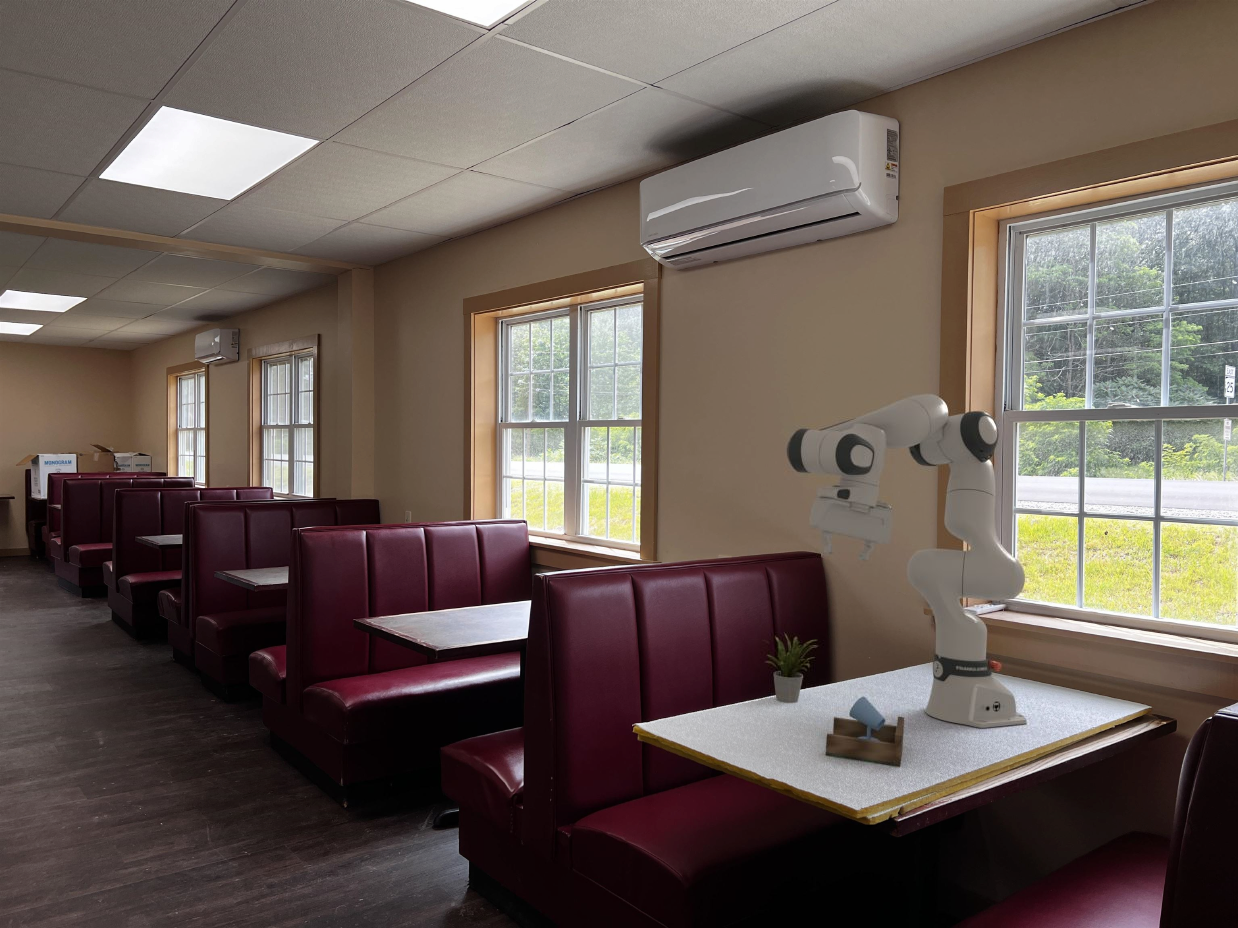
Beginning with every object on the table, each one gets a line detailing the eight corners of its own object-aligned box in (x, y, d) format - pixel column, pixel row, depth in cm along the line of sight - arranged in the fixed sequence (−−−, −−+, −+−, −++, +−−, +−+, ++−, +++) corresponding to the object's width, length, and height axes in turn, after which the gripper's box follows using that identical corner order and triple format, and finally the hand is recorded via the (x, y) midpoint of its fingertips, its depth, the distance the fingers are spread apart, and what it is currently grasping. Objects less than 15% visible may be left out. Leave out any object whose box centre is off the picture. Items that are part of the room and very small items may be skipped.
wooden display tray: (825, 755, 172) (827, 724, 172) (833, 735, 185) (834, 707, 185) (900, 766, 167) (901, 735, 167) (902, 746, 180) (904, 717, 180)
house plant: (832, 701, 213) (836, 634, 213) (805, 712, 202) (809, 641, 203) (781, 689, 222) (784, 625, 222) (752, 699, 212) (755, 631, 212)
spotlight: (844, 745, 177) (876, 754, 172) (847, 696, 177) (878, 703, 172) (856, 740, 180) (887, 749, 176) (859, 692, 180) (890, 699, 176)
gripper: (885, 504, 203) (874, 562, 202) (811, 486, 196) (799, 547, 195) (903, 506, 197) (891, 566, 196) (827, 488, 190) (815, 550, 189)
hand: (845, 556), depth 196 cm, fingers open, 8 cm apart
